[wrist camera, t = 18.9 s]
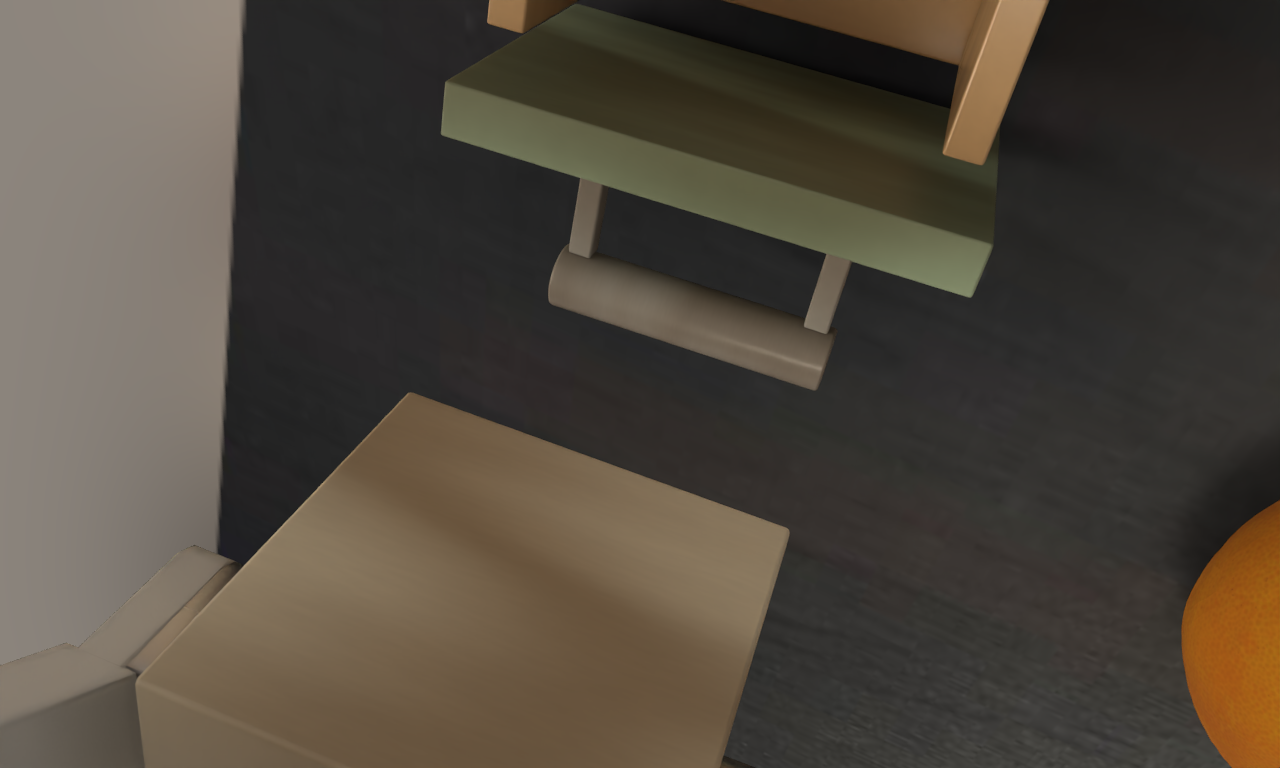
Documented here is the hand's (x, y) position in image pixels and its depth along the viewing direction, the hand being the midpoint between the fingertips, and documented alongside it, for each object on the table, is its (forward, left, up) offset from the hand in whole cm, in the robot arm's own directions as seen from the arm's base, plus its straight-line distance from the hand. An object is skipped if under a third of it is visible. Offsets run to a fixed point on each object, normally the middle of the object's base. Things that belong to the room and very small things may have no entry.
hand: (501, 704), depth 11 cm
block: (0, 0, -2) cm, 2 cm away
